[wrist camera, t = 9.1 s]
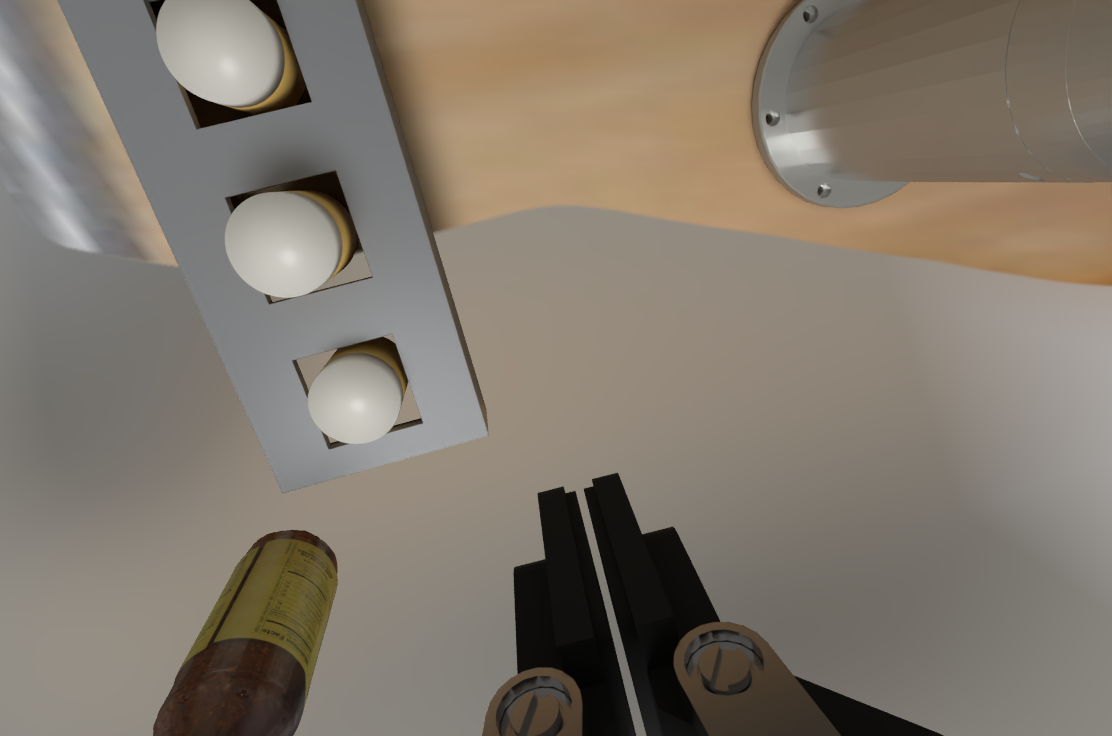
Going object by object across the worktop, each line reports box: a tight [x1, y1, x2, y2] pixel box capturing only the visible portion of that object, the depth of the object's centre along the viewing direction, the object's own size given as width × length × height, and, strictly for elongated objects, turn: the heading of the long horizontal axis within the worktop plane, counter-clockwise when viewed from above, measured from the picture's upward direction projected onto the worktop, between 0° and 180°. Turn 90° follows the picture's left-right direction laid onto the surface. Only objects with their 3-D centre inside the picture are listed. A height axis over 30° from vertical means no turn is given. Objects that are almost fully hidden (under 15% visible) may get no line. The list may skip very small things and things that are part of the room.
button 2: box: [308, 337, 408, 444], centre depth 33 cm, size 5×5×6 cm
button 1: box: [156, 0, 306, 115], centre depth 27 cm, size 5×5×6 cm
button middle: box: [225, 190, 357, 298], centre depth 28 cm, size 5×5×6 cm
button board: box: [58, 0, 488, 493], centre depth 31 cm, size 12×26×4 cm, turn 13°
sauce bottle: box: [153, 530, 338, 736], centre depth 30 cm, size 6×6×20 cm
